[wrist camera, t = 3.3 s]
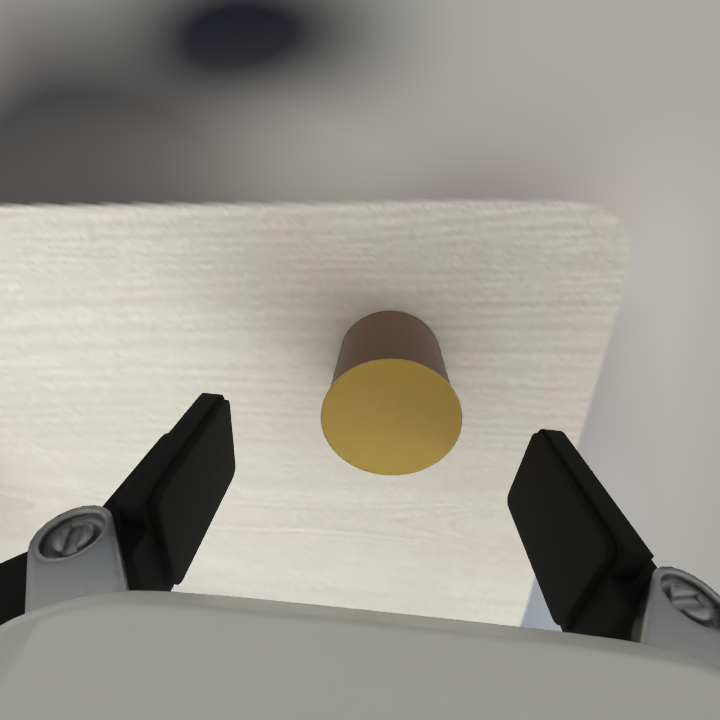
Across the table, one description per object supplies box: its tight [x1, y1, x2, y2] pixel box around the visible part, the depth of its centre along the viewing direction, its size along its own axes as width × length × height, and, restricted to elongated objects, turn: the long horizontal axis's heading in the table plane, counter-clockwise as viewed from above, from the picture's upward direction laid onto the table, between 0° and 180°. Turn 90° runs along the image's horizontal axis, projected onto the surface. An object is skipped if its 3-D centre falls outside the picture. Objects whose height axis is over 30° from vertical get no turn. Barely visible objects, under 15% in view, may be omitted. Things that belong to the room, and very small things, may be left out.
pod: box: [321, 311, 462, 475], centre depth 14 cm, size 5×5×5 cm
